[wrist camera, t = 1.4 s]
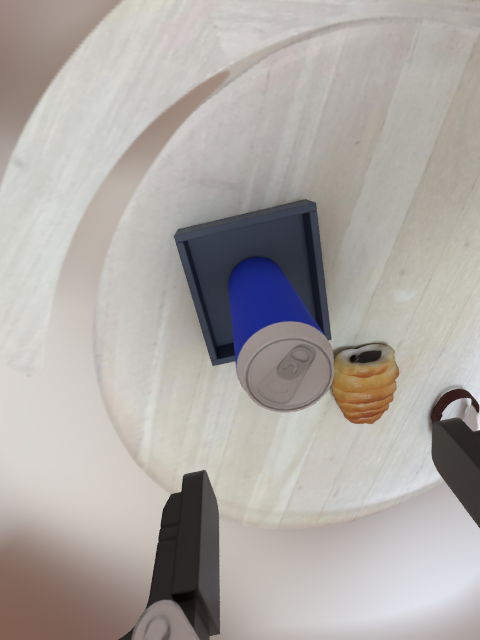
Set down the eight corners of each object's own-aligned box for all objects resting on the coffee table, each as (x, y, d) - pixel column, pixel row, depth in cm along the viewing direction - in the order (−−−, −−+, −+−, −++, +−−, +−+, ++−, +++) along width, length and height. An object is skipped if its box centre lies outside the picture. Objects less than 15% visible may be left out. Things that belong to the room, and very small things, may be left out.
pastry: (388, 408, 38) (405, 432, 34) (330, 419, 38) (341, 444, 35) (389, 337, 34) (408, 356, 31) (324, 349, 34) (336, 369, 31)
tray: (177, 229, 28) (173, 235, 26) (306, 199, 28) (316, 202, 25) (212, 350, 33) (212, 366, 31) (322, 325, 33) (331, 339, 30)
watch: (461, 434, 40) (482, 458, 37) (423, 439, 40) (441, 463, 37) (474, 382, 37) (499, 403, 34) (433, 387, 37) (454, 408, 34)
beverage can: (264, 318, 32) (301, 430, 18) (217, 293, 30) (218, 394, 17) (295, 272, 30) (360, 358, 16) (246, 244, 29) (273, 311, 15)
